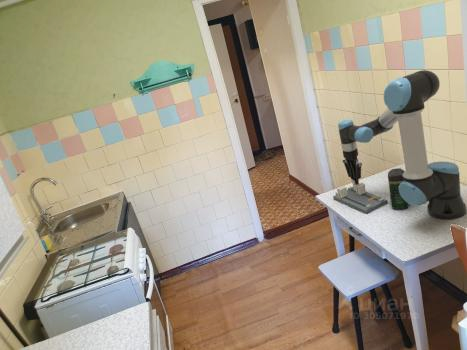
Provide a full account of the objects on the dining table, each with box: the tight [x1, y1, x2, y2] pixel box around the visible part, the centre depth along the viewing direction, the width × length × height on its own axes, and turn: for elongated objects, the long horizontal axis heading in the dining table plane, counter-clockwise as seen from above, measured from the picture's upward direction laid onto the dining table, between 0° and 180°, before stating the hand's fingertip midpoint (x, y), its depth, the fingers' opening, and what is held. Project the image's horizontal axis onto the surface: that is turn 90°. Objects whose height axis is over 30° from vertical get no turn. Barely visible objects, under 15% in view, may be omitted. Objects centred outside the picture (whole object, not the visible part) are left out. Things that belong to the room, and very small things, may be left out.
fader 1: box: [336, 185, 348, 198], centre depth 203 cm, size 3×4×5 cm
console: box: [332, 186, 389, 215], centre depth 198 cm, size 26×14×3 cm, turn 22°
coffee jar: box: [387, 167, 410, 211], centre depth 181 cm, size 10×8×19 cm
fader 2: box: [355, 182, 367, 195], centre depth 200 cm, size 3×4×5 cm
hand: (356, 189), depth 204 cm, fingers closed
